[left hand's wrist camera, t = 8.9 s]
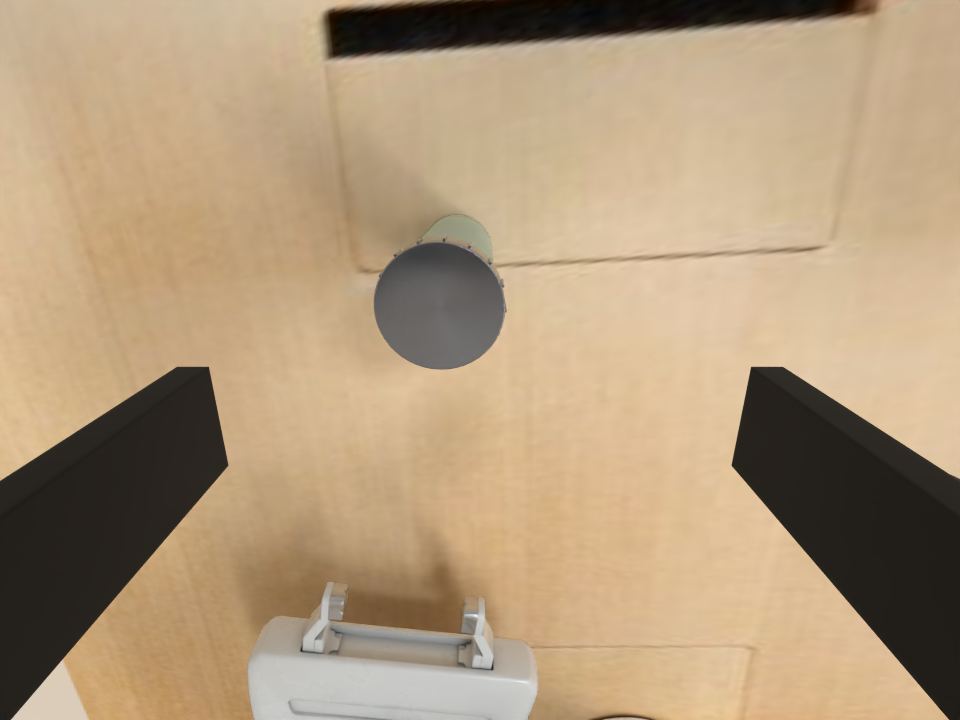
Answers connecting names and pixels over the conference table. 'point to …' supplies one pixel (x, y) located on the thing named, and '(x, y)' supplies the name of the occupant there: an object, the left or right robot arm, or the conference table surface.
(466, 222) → the bottle
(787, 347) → the conference table surface
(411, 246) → the lid
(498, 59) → the conference table surface
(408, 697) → the right robot arm
